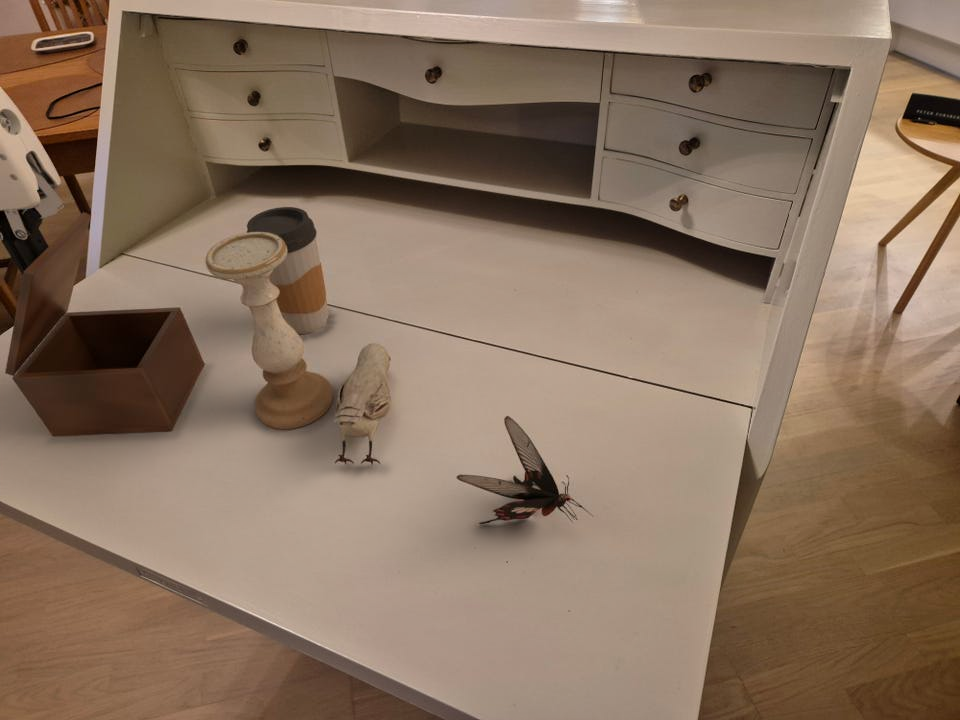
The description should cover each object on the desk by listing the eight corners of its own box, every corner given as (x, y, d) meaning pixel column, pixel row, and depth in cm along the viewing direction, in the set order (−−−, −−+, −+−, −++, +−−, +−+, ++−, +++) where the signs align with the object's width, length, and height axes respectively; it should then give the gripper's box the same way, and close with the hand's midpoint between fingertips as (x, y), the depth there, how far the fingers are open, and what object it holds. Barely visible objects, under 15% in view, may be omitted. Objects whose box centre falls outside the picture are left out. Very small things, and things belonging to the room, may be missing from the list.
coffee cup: (304, 297, 90) (277, 199, 81) (349, 313, 87) (327, 213, 77) (261, 329, 85) (227, 228, 75) (307, 347, 82) (277, 244, 72)
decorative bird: (404, 370, 77) (395, 321, 72) (383, 474, 65) (371, 423, 60) (360, 371, 77) (349, 321, 73) (331, 474, 65) (315, 423, 60)
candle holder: (320, 432, 70) (272, 276, 57) (244, 428, 71) (180, 274, 58) (342, 378, 76) (304, 228, 63) (273, 376, 78) (221, 227, 64)
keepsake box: (204, 364, 80) (180, 307, 74) (171, 431, 71) (140, 372, 65) (98, 368, 80) (65, 312, 75) (52, 436, 71) (11, 378, 66)
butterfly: (494, 548, 62) (430, 472, 61) (551, 488, 65) (492, 414, 63) (543, 576, 52) (469, 487, 50) (609, 505, 55) (541, 417, 53)
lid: (91, 215, 67) (83, 211, 66) (32, 275, 58) (23, 271, 57) (67, 310, 74) (60, 307, 74) (13, 376, 66) (4, 373, 65)
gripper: (40, 59, 55) (128, 246, 67) (-127, 70, 55) (-11, 253, 67) (-10, 86, 49) (95, 285, 61) (-197, 98, 50) (-56, 293, 61)
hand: (40, 268), depth 64 cm, fingers closed
